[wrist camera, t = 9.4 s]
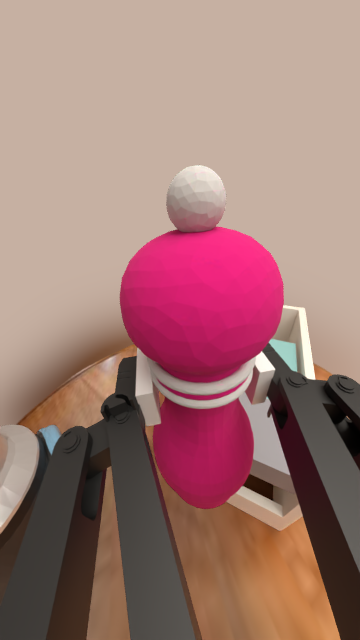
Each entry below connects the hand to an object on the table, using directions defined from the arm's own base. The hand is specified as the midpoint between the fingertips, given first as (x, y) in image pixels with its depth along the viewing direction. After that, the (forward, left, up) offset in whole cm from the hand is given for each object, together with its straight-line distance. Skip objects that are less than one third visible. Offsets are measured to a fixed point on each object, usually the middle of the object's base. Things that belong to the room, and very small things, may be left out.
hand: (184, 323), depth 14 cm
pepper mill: (+3, -4, -11) cm, 12 cm away
